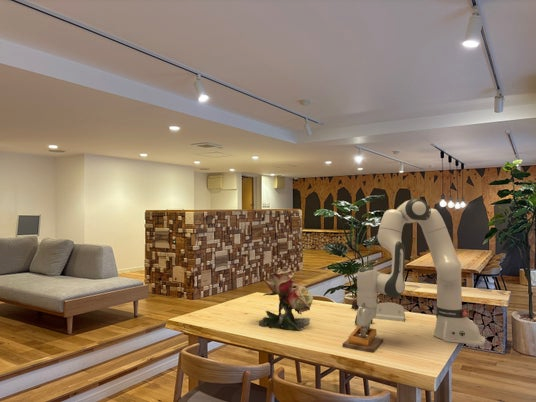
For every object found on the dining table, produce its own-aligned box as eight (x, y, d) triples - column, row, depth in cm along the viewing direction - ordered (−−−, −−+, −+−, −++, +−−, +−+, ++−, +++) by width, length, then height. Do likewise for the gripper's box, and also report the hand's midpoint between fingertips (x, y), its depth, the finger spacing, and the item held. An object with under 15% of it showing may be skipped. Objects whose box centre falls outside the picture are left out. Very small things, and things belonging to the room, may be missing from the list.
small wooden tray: (376, 335, 185) (376, 329, 184) (368, 346, 173) (368, 340, 173) (357, 332, 189) (357, 326, 189) (348, 343, 178) (348, 336, 178)
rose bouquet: (309, 332, 199) (309, 272, 200) (255, 327, 208) (255, 270, 209) (319, 319, 223) (319, 266, 224) (270, 314, 232) (270, 263, 233)
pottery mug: (352, 306, 255) (359, 295, 255) (365, 315, 249) (371, 304, 249) (346, 305, 245) (353, 294, 245) (359, 314, 239) (366, 303, 239)
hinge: (373, 318, 225) (374, 300, 228) (375, 319, 229) (375, 301, 232) (404, 321, 218) (405, 303, 222) (405, 322, 222) (405, 304, 226)
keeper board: (382, 342, 184) (382, 324, 184) (373, 352, 170) (373, 333, 171) (353, 337, 191) (353, 320, 192) (342, 347, 177) (342, 328, 178)
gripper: (366, 307, 176) (367, 338, 175) (378, 298, 193) (379, 326, 193) (353, 305, 179) (353, 336, 179) (366, 297, 197) (366, 324, 196)
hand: (366, 331), depth 186 cm, fingers closed on small wooden tray, 2 cm apart
